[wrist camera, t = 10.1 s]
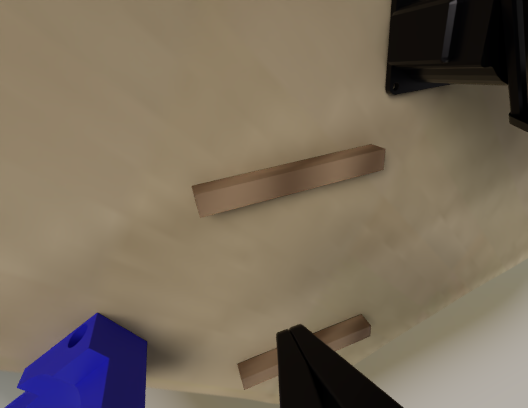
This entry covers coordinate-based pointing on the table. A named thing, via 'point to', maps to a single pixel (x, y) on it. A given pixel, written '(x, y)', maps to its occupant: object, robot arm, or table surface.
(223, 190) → the brown wooden bars
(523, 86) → the robot arm
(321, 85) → the table surface
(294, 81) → the table surface
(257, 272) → the table surface
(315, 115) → the table surface
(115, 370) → the cable clip
